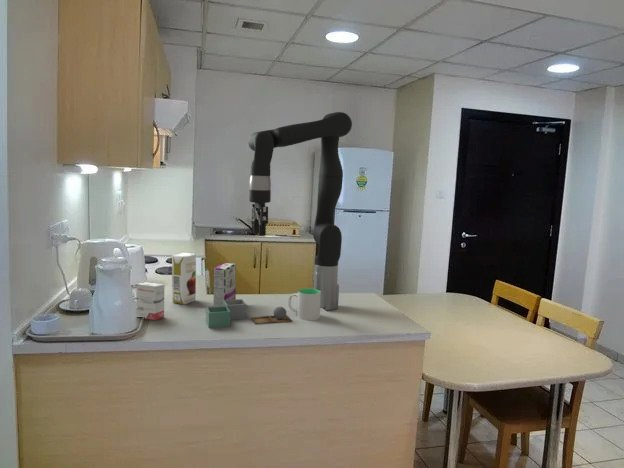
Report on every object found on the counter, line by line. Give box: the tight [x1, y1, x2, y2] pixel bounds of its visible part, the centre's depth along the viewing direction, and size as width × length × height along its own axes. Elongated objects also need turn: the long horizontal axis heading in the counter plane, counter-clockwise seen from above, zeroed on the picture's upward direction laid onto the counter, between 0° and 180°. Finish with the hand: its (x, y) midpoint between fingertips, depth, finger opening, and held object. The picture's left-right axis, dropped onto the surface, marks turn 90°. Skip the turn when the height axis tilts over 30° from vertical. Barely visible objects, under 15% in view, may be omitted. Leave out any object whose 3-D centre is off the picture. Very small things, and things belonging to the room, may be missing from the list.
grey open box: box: [223, 298, 247, 320], centre depth 169 cm, size 7×7×6 cm
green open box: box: [205, 306, 231, 329], centre depth 159 cm, size 7×7×6 cm
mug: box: [287, 288, 321, 321], centre depth 172 cm, size 12×8×10 cm
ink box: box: [135, 281, 165, 321], centre depth 167 cm, size 9×5×12 cm, turn 71°
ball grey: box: [272, 306, 287, 320], centre depth 167 cm, size 4×4×4 cm
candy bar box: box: [213, 262, 237, 307], centre depth 181 cm, size 11×5×16 cm, turn 168°
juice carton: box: [171, 252, 197, 305], centre depth 187 cm, size 8×9×19 cm
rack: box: [250, 314, 293, 326], centre depth 166 cm, size 13×7×2 cm, turn 110°
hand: (259, 234), depth 171 cm, fingers open, 8 cm apart
